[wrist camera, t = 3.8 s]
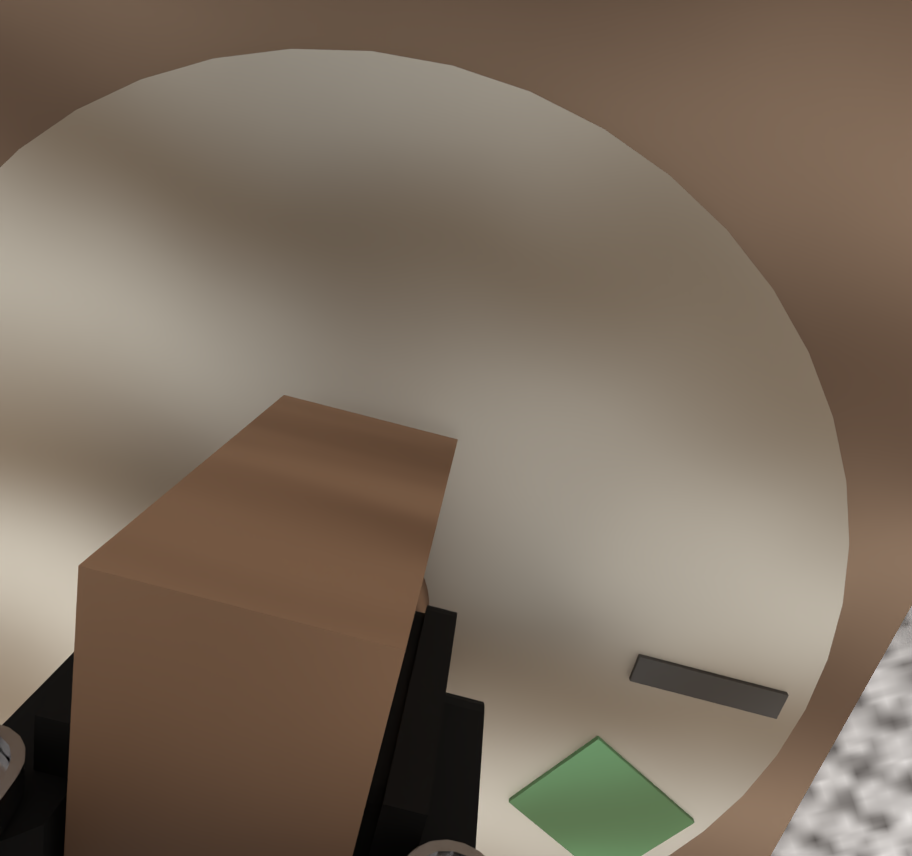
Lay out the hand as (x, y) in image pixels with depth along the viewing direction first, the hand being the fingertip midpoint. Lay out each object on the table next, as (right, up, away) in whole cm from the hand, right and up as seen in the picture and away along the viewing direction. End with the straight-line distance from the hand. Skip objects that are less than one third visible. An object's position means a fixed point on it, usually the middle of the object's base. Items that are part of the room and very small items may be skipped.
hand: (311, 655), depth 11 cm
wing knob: (0, -1, +2) cm, 3 cm away
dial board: (0, +1, +3) cm, 4 cm away
